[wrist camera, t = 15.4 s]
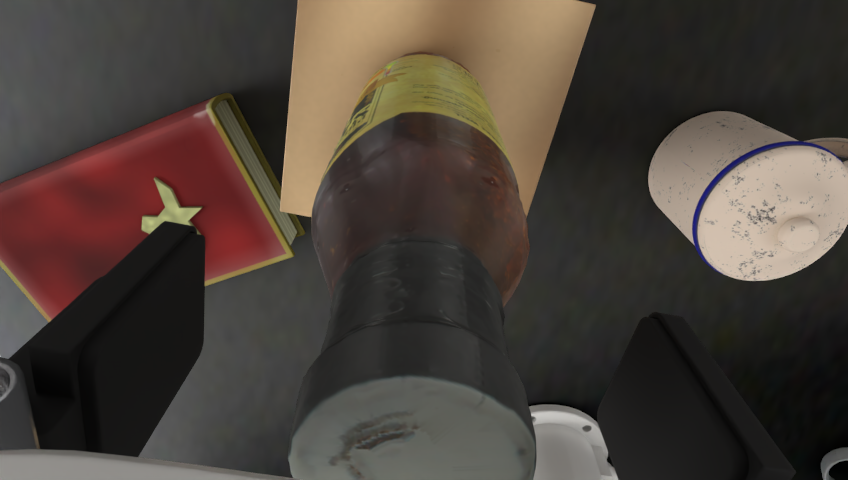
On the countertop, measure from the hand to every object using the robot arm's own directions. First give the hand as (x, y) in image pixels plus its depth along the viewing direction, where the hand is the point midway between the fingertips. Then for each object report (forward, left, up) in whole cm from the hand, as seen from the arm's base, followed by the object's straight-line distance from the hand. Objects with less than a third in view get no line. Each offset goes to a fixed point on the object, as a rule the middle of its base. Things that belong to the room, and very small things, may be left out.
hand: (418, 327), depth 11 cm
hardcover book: (+19, +14, -29) cm, 37 cm away
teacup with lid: (-23, +1, -29) cm, 37 cm away
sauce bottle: (0, 0, -17) cm, 17 cm away
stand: (0, 0, -28) cm, 28 cm away
